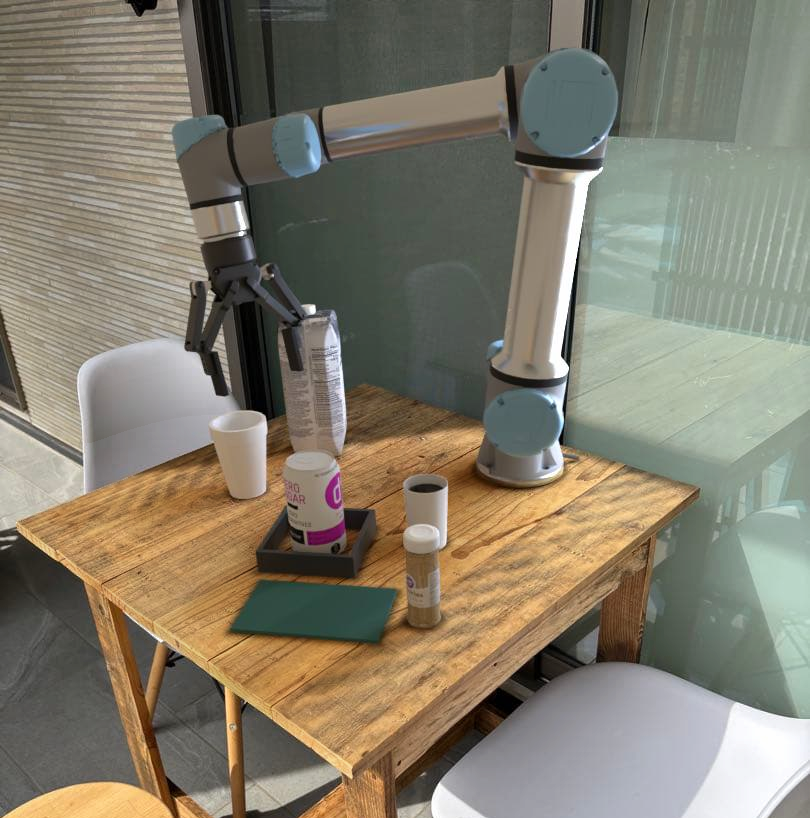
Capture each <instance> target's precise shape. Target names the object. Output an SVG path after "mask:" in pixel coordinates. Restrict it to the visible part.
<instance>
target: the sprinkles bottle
mask: <svg viewBox="0 0 810 818" xmlns="http://www.w3.org/2000/svg"><path fill="white" fill-rule="evenodd" d="M402 543H403V544H402V545H403V548H404V552H405V554H404V555H405V586H406V587H405V589H406V592H405V593H406V602H407V615H406V619H407V622H408V623H409V625H411V626H412V627H413V628H417V629H430V628H433V627H435V626H436V625H438V624H439V623H440V622H441V619H442V616H441V615H442V614H441V578H440V574H441V573H440V572H441V571H440V569H441V568H440V557H439V550H440V549H439V545H440V536H439V531H438V529H437V528H435V527H433V526H431V525H427V524H417V525H413V526H410V527H408V528H407V527H406V529H405V530H404V531H403V534H402ZM438 549H439V550H438Z"/></svg>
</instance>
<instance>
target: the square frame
mask: <svg viewBox="0 0 810 818" xmlns="http://www.w3.org/2000/svg"><path fill="white" fill-rule="evenodd" d="M343 511H344V522H345V530H351V531H359V532H358V535H357V537H356V539H355V542H354V544H353V546H352V548H351V550H350V552H349V554H346V553H345V554H344V553H340V554H330V553H314V552H298V551H293V550H278V549H279V548H280V547H281V544H282V543H283V541H284V540H285V538H286V536H287V535H288V533H289V532H290V528H289V520H288V512H287V504H285V506H284V507H283V509H282V510H281V512H280V513H279V514H278V516H277V518H276V519H275V520H274V522H273V524H272V526H271V527H270V528H269V530H268V531H267V533H266V534H265V536H264V538H263V539H262V540H261V543H260V544H259V546H258V547H257V548H256V550H255V552H254V553H255V559H256V565H257V571H258V573H267V574H268V573H269V574H283V575H299V576H311V577H312V576H314V577H315V576H316V577H326V578H327V577H329V578H343V579H344V578H345V579H356V577H357V574H358V572H359V570H360V568H361V565H362V563H363V561H364V558H365V556H366V554H367V552H368V549H369V547H370V545H371V543H372V540H373V538H374V536H375V534H376V531H377V528H378V527H377V513H376V508H358V507H357V508H356V507H343Z"/></svg>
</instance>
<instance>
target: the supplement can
mask: <svg viewBox="0 0 810 818" xmlns="http://www.w3.org/2000/svg"><path fill="white" fill-rule="evenodd" d="M282 480H283V488H284V489H283V490H284V495H285V496H284V497H285V503H286V504H285V505H287V512H288V520H289V528H290V530H289V535H290V542H291V543H290V544H291V550H292V551H298V552H314V553H330V554H342V552H343V551H344V550H345V549H346V547H347V534H346V529H345V522H344V511H343V508H344V502H343V500H344V499H343V490H342V478H341V469H340V465H339V463H338V461H337V460H336V459H335V456H333V455H332V454H331V453H329V452H327V451H323V450H306V451H301V452H297V453H295V452H294V453H293V454H290V455H289V456H288V457H286V460H285V464H284V466H283V469H282Z"/></svg>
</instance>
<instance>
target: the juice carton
mask: <svg viewBox="0 0 810 818" xmlns="http://www.w3.org/2000/svg"><path fill="white" fill-rule="evenodd" d="M300 305H301V306H302V307H303V309H304V310H305V312H306V313H307V315H308V317H307V319H306V320H303V321H302V325H301V327H299V332H300V336H301V341H302V347H301V348H299V350H300V355H301V359H302V363H303V368H304V370H303V371H291V370H290V366H289V361H288V357H287V353H286V348H285V344H284V340H283V336H282V331H281V329H285V328H287V327H286V326H285V325H283V324H282V323H281V322H280V321H278V324H277V325H276V332H277V333H276V334H277V347H278V357H279V365H280V373H281V379H282V380H281V381H282V390H283V396H284V397H283V398H284V405H285V415H286V421H287V430H288V435H289V441H290V444H291V446H292V449H293V452H294V454H295V453H297V452H301V451H306V450H323V451H327V452H329V453H331V454H332V455H333V456H334V457H339V456H341V455H342V452H343V449H344V443H345V438H346V433H347V428H348V427H347V426H348V425H347V424H348V423H347V422H348V421H347V407H346V396H345V384H344V373H343V360H342V359H343V358H342V349H341V338H340V330H339V324H338V323H339V322H338V318H337V313H336V311H335V310H333V309H323V310H317V309H316V304H311V303H308V304H300Z"/></svg>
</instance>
